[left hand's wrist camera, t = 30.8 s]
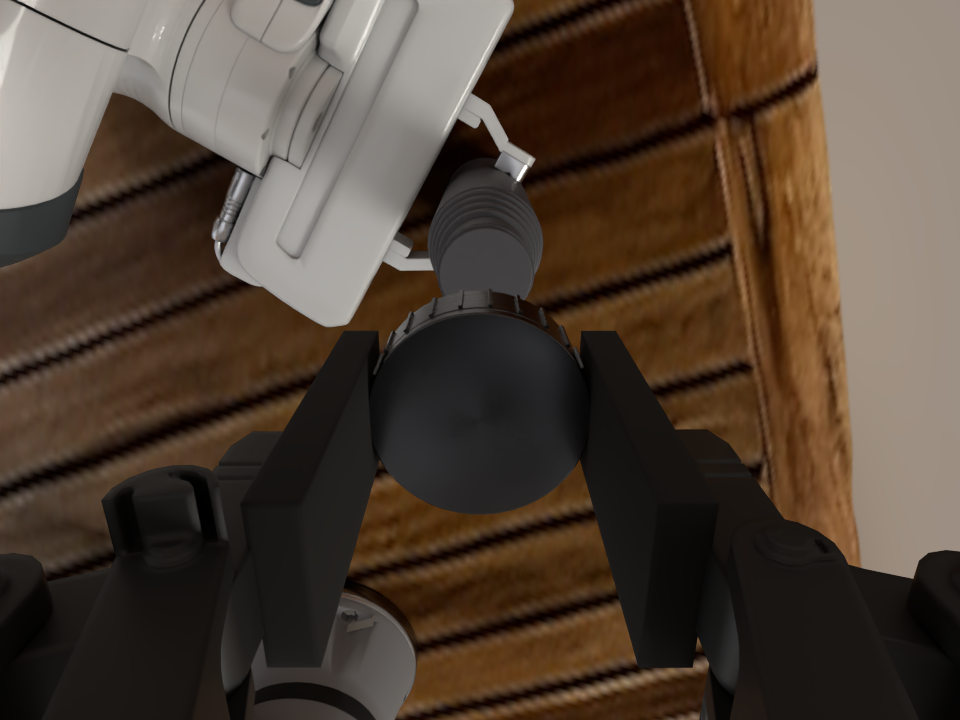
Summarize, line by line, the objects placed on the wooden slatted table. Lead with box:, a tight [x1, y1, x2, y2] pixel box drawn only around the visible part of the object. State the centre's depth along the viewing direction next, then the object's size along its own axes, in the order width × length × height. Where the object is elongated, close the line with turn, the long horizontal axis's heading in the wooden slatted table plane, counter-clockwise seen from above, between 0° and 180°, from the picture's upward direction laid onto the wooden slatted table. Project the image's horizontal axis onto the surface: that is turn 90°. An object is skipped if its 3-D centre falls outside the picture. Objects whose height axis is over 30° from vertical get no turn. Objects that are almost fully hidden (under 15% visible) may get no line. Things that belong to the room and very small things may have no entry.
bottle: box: [428, 158, 543, 300], centre depth 32 cm, size 5×5×20 cm
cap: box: [369, 289, 591, 514], centre depth 14 cm, size 5×5×2 cm
